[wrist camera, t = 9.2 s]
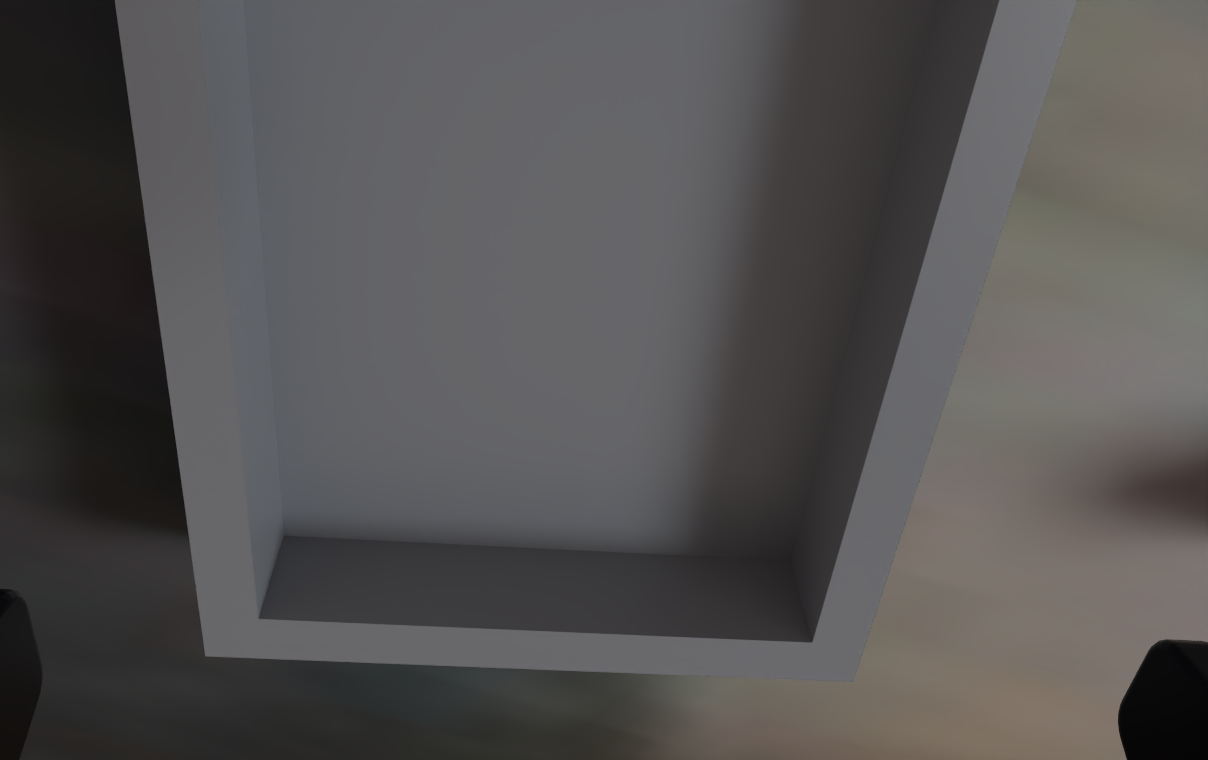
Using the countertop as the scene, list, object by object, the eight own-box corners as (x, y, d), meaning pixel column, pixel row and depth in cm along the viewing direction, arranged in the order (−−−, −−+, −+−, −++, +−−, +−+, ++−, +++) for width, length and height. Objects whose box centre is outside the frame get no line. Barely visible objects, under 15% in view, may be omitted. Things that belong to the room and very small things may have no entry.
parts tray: (820, 572, 23) (852, 682, 21) (244, 544, 22) (205, 656, 20) (1123, -502, 14) (1255, -541, 11) (122, -645, 12) (14, -722, 10)
